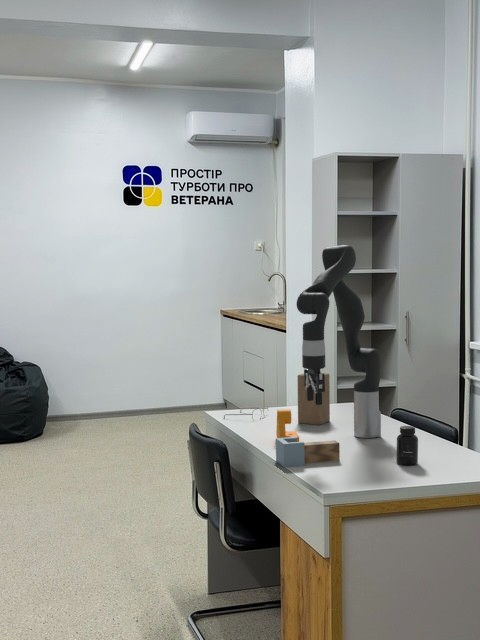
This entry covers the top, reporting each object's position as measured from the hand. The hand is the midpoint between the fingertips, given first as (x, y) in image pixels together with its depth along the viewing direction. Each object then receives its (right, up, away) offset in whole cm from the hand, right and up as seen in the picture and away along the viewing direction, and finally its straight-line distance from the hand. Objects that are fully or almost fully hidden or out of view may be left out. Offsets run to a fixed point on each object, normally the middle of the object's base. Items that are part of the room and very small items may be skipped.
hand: (314, 402), depth 268 cm
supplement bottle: (+30, -20, -4) cm, 36 cm away
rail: (0, -20, +1) cm, 20 cm away
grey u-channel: (-8, -20, -1) cm, 21 cm away
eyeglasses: (-21, -15, +83) cm, 87 cm away
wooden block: (+6, -15, +68) cm, 70 cm away
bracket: (-7, -18, +32) cm, 38 cm away
